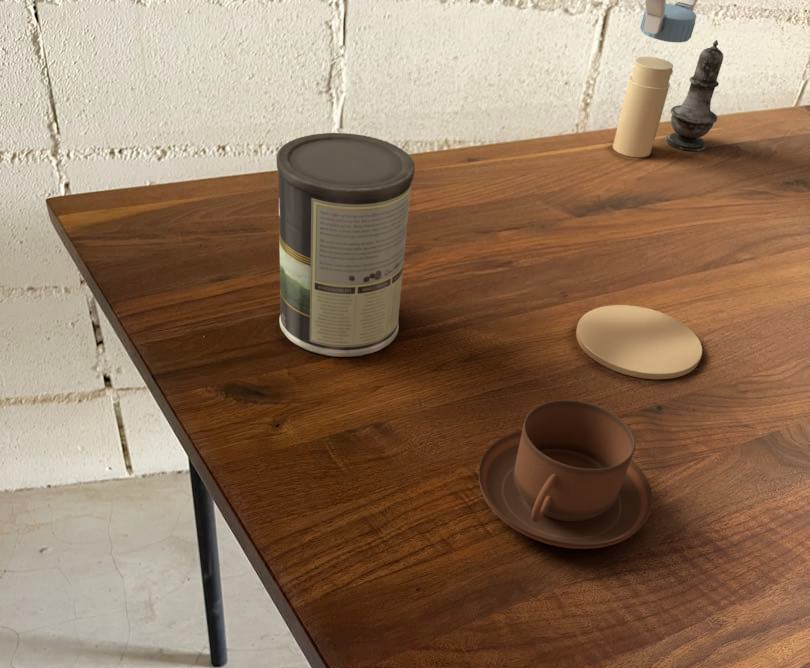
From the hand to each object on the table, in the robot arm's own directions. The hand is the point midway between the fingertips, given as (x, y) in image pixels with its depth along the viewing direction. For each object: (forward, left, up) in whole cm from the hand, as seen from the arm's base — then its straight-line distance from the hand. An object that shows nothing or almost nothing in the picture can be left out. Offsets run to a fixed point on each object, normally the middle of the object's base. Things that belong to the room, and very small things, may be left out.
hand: (666, 26), depth 101 cm
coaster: (-22, +40, -14) cm, 48 cm away
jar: (0, 0, -14) cm, 14 cm away
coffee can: (-2, +57, -14) cm, 59 cm away
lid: (0, 0, +1) cm, 1 cm away
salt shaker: (-3, -8, -14) cm, 16 cm away
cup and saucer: (-28, +63, -14) cm, 70 cm away
